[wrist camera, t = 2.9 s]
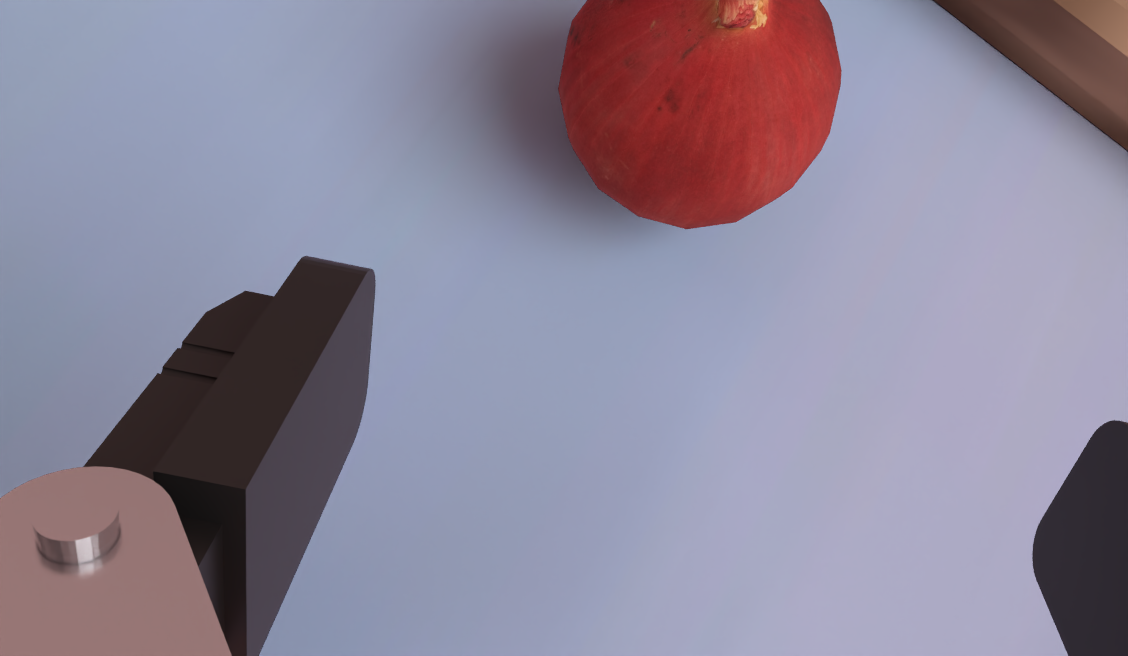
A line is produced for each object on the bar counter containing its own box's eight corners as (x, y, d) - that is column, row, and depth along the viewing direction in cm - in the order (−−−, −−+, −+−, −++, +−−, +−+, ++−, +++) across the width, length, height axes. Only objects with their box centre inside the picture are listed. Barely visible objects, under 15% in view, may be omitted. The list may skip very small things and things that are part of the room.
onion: (508, 111, 24) (508, -92, 16) (702, 9, 25) (790, -229, 17) (631, 308, 23) (692, 194, 15) (827, 195, 24) (979, 33, 16)
